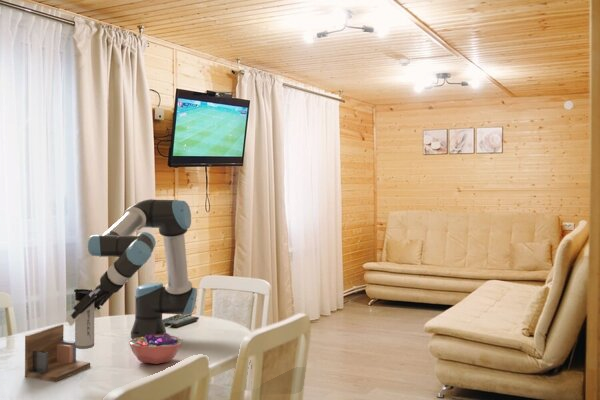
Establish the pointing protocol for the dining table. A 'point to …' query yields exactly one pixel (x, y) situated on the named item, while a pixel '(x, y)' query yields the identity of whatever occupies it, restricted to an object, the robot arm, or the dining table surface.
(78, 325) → the travel mug
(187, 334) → the dining table surface
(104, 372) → the dining table surface
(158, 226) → the robot arm
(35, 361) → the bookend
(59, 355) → the books
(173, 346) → the candy bowl
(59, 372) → the shelf
